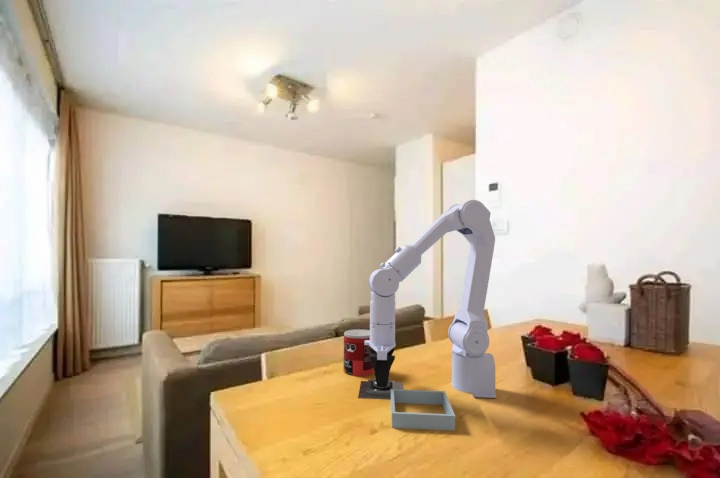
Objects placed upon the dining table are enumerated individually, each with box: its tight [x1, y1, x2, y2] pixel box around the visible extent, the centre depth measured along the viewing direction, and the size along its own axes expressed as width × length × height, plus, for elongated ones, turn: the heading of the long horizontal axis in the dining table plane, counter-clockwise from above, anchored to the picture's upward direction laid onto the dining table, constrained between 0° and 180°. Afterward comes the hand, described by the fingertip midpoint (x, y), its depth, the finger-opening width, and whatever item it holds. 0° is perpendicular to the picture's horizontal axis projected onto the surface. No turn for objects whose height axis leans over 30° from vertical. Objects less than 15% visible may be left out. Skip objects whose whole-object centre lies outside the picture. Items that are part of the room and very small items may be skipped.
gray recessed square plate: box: [357, 379, 405, 401], centre depth 82 cm, size 10×10×2 cm
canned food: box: [342, 328, 375, 377], centre depth 95 cm, size 8×8×11 cm
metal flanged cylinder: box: [372, 377, 391, 390], centre depth 82 cm, size 4×4×7 cm
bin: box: [390, 389, 456, 432], centre depth 70 cm, size 11×11×4 cm
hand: (381, 382), depth 82 cm, fingers closed on metal flanged cylinder, 4 cm apart
